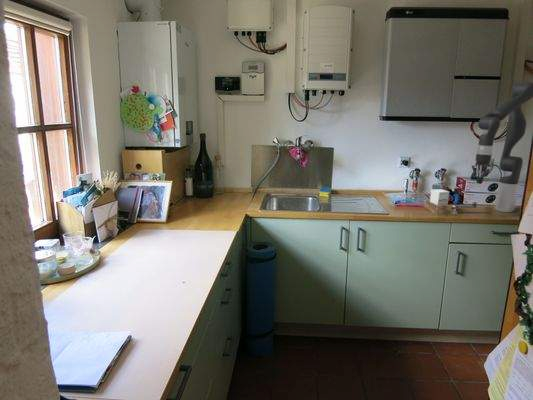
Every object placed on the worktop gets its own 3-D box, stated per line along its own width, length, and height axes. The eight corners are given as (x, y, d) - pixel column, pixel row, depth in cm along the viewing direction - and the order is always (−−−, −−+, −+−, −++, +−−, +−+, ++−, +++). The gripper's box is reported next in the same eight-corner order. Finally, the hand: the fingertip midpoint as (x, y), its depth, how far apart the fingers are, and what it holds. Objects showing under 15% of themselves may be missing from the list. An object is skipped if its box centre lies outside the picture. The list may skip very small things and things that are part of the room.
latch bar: (474, 206, 229) (474, 201, 229) (476, 208, 227) (477, 202, 226) (451, 207, 228) (451, 202, 227) (453, 208, 225) (454, 203, 224)
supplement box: (436, 212, 228) (439, 192, 224) (428, 209, 235) (431, 189, 231) (446, 212, 230) (449, 191, 226) (438, 208, 236) (441, 188, 233)
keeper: (444, 207, 240) (445, 199, 238) (458, 214, 226) (459, 205, 224) (423, 207, 238) (424, 199, 237) (436, 214, 224) (437, 206, 223)
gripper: (469, 151, 220) (465, 181, 225) (487, 155, 208) (482, 186, 212) (480, 151, 222) (475, 180, 227) (499, 154, 210) (493, 185, 214)
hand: (479, 183), depth 219 cm, fingers closed
